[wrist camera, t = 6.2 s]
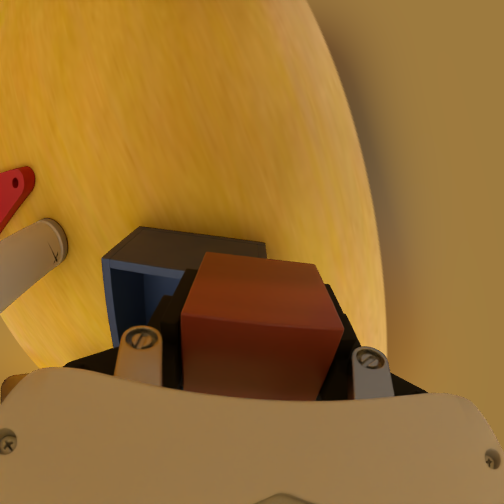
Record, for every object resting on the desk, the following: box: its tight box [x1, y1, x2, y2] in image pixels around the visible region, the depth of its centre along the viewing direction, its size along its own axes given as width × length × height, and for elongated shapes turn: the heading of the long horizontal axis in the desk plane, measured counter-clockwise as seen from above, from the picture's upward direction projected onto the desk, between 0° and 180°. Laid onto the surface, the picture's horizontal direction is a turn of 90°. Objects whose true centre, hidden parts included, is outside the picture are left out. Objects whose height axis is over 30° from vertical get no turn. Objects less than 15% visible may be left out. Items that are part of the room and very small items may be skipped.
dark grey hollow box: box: [101, 226, 267, 390], centre depth 27 cm, size 15×14×9 cm
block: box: [181, 252, 344, 401], centre depth 10 cm, size 4×4×4 cm
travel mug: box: [0, 218, 67, 313], centre depth 20 cm, size 6×7×20 cm
